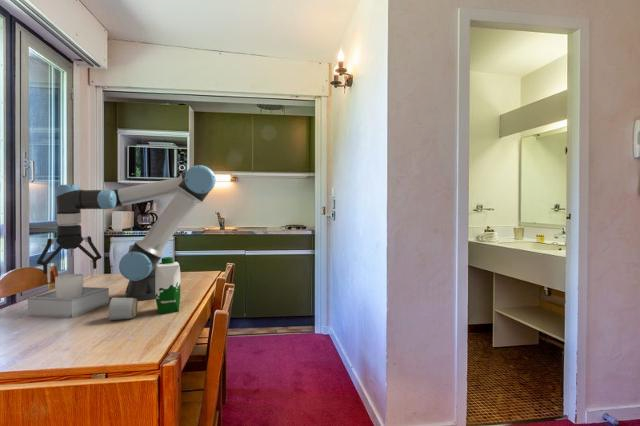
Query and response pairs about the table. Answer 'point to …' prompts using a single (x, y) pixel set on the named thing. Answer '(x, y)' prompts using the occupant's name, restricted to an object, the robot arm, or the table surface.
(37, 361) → the table surface
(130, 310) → the grey cylinder
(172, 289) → the milk carton
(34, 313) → the crate
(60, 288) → the cup
